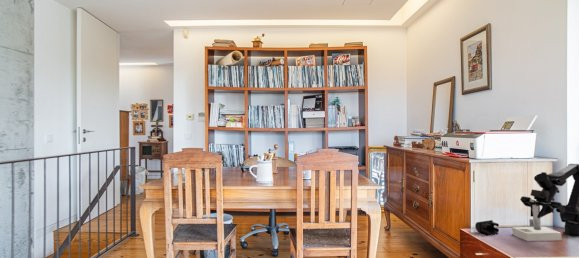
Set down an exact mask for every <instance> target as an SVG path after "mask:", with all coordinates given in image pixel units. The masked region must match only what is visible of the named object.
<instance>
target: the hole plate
mask: <svg viewBox="0 0 579 258" xmlns="http://www.w3.org/2000/svg"><path fill="white" fill-rule="evenodd" d="M511 231H512V232H511V233H512V236H515V237H517V238H520V239H522V240H524V241H526V242H548V241H549V242H551V241H554V242H555V241H563V240H562V232H559V231H558V230H554V229H552V228H549V227H546V226H541V230H535V229H533V227H530V226H519V227H518V226H517V227H511Z"/></svg>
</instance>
